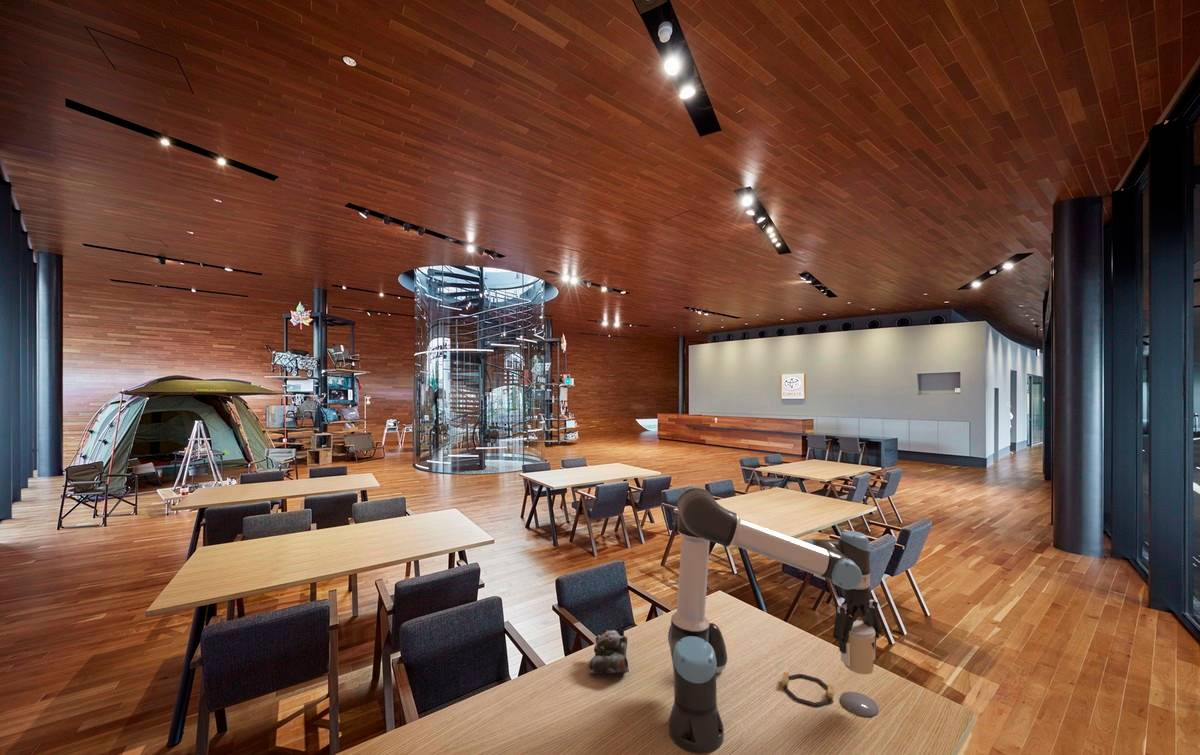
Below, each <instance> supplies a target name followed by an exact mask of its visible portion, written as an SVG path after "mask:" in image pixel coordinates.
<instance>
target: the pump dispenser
mask: <svg viewBox="0 0 1200 755" xmlns="http://www.w3.org/2000/svg"><path fill="white" fill-rule="evenodd" d="M708 643H709V644H710V645H711V646H712V647H713V649H714V652H715V657H716V662H717V666H716V674H719V673H721V672H722V671H723V670H724V669H725V667H726V666H727V663H728V652H727V648H726V646H727V645H726V643H725V639H724V636H723V633H722V631H721V630H720V628H719V626H718V625H717V624H715V623H714V622H709V637H708Z"/></svg>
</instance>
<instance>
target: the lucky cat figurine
mask: <svg viewBox="0 0 1200 755" xmlns="http://www.w3.org/2000/svg"><path fill="white" fill-rule="evenodd" d="M595 642H596V643H595V644H594V647H593V651H594V656H593V657H591V659H590V660H589V662H588V669H589V671H588V672H587V673H588V674H590V675H591V674H616V673H629V671H630V670H629V663H628V662H629V661H628V659H627V658H628V657H627V648H628V637H627V636H626V635H625V631H624V628H620V629H618V630H614V629H613V630H608V629H604V631H603V632H602V634H601V635H600V634H598V635H597V636H595Z"/></svg>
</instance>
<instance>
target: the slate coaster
mask: <svg viewBox="0 0 1200 755" xmlns="http://www.w3.org/2000/svg"><path fill="white" fill-rule="evenodd" d="M839 699H840V703H841V705H842V706H843V707H844V708H845V709H846V710H847V711H849V712H850V713H853V714H855V715H857V716H860V717H865V718H866V717H867V718H872V717H875V716H877V715H878V714H879V712H880V711H879V705H878V704H877V702H876V701H875V700H873V699H872V698H871V697H869V696H868V695H866V694H863V693H860V692H857V691H846V692H842V694H840V698H839Z"/></svg>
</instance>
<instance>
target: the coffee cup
mask: <svg viewBox="0 0 1200 755" xmlns="http://www.w3.org/2000/svg"><path fill="white" fill-rule="evenodd" d="M843 638H844V637H843ZM847 642H848V643H850V666H848V665H846V664H845V663H844V662H843V664H844V666H845V667H846V668H847V669H848V670H850V671H851V672H852V673H853V672H854V673H856V674H860V675H871V674H872V673H873V672H874V666H875V665H874V663H875V660H874V646H875V631H874V628H873V627H872V626H871V627H870V626H868V625H866V624H864V623H863V621H862V620H859V619H856V621H855V622H854V623H853V626H852V629H851V631H849V638H848V641H847ZM875 647H876V646H875Z"/></svg>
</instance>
